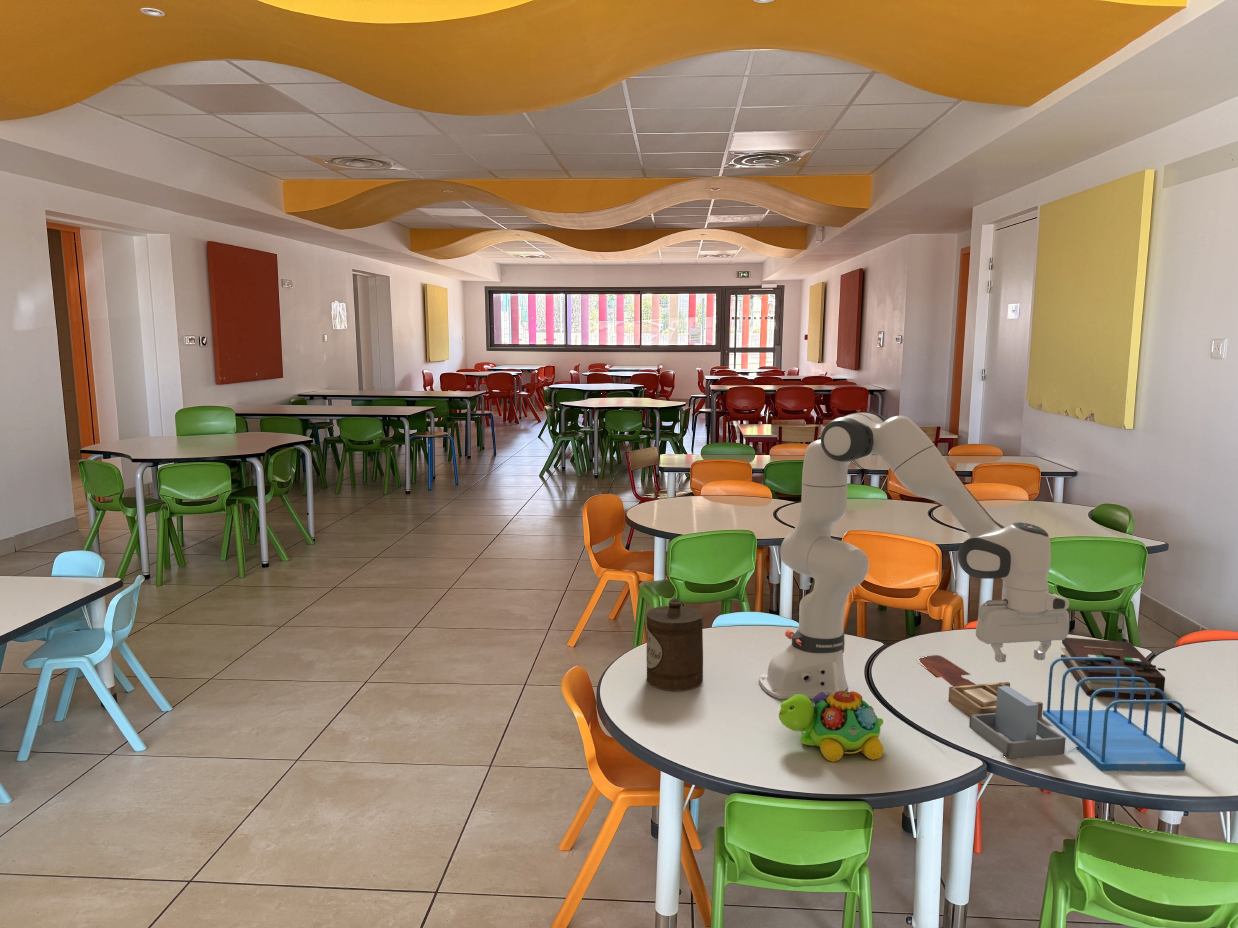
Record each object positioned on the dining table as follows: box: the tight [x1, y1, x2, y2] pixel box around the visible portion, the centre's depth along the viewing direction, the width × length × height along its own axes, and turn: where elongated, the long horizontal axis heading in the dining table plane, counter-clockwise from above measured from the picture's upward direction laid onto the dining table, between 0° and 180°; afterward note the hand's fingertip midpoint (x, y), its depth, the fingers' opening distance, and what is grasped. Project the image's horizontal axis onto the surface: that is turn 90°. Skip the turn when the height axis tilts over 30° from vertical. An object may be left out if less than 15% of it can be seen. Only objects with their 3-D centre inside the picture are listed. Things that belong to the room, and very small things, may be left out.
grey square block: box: [994, 686, 1039, 742], centre depth 182 cm, size 3×10×10 cm, turn 11°
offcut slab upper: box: [963, 688, 997, 707], centre depth 196 cm, size 5×7×2 cm
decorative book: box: [1060, 637, 1167, 700], centre depth 216 cm, size 19×8×30 cm
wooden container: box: [646, 597, 704, 692], centre depth 216 cm, size 15×15×22 cm
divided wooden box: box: [948, 681, 1044, 720], centre depth 197 cm, size 16×13×4 cm
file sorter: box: [1042, 657, 1186, 772], centre depth 181 cm, size 25×17×15 cm
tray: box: [968, 713, 1067, 760], centre depth 183 cm, size 13×14×4 cm
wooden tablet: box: [919, 654, 977, 687], centre depth 220 cm, size 27×10×2 cm, turn 7°
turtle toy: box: [778, 690, 884, 762], centre depth 181 cm, size 17×23×12 cm
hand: (1019, 660), depth 180 cm, fingers open, 8 cm apart
